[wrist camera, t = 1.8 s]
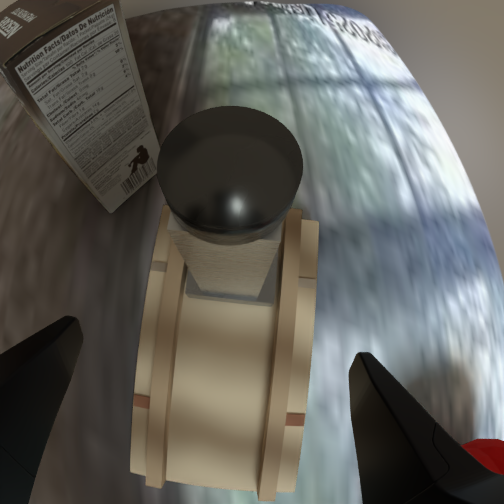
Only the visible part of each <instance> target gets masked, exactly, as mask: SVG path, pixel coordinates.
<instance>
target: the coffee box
mask: <svg viewBox="0 0 504 504" xmlns="http://www.w3.org/2000/svg"><path fill="white" fill-rule="evenodd" d="M0 73H1V74H2V76H3V78H4V79H5V81H6V82H7V84H8V85H9V87H10V88H11V90H12V91H13V93H14V94H15V96H16V97H17V99H18V100H19V102H20V103H21V105H22V106H23V107H24V109H25V110H26V112H27V113H28V115H29V116H30V117H31V119H32V120H33V122H34V123H35V125H36V126H37V127H38V129H39V130H40V131H41V133H42V134H43V135H44V136H45V138H46V139H47V140H48V142H49V143H50V144H51V146H52V147H53V148H54V149H55V151H56V152H57V153H58V154H59V156H60V157H61V158H62V159H63V161H64V162H65V163H66V164H67V165H68V167H69V168H70V169H71V170H72V171H73V173H74V174H75V175H76V176H77V177H78V178H79V179H80V181H81V182H82V183H83V184H84V185H85V186H86V187H87V189H88V190H89V191H90V192H91V193H92V194H93V195H94V196H95V198H96V199H97V200H98V201H99V202H100V203H101V204H102V205H103V206H104V208H105V209H106V210H107V211H108V212H109V213H113V212H114V211H115V210H116V209H117V208H118V207H119V206H120V205H121V204H122V203H123V202H125V201H126V200H127V199H128V198H129V197H130V196H131V195H132V194H133V193H135V192H136V191H137V190H138V189H139V188H140V187H141V186H143V185H144V184H145V183H146V182H147V181H148V180H149V179H150V178H152V177H153V176H154V175H155V174H156V173H157V160H158V155H159V152H160V149H161V147H160V144H159V141H158V138H157V134H156V131H155V128H154V125H153V121H152V118H151V115H150V112H149V107H148V104H147V101H146V97H145V93H144V90H143V86H142V83H141V79H140V76H139V72H138V68H137V64H136V61H135V57H134V53H133V50H132V46H131V42H130V38H129V34H128V30H127V26H126V22H125V18H124V14H123V10H122V6H121V2H120V0H18V1H16V2H15V3H13V4H11V5H10V6H8V7H7V8H6V9H4V10H3V11H2V12H0Z"/></svg>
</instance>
